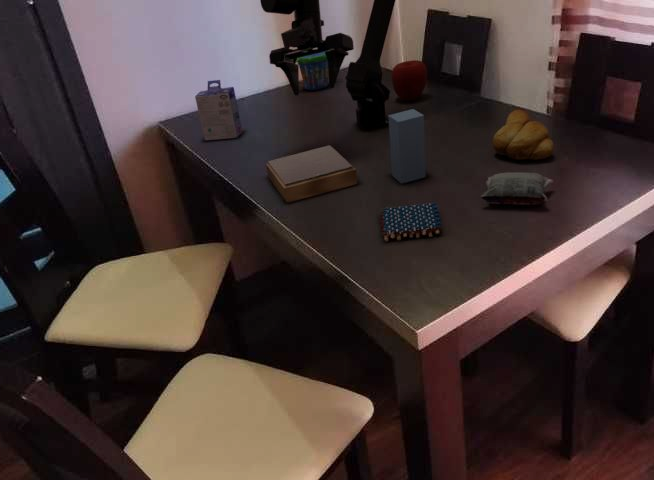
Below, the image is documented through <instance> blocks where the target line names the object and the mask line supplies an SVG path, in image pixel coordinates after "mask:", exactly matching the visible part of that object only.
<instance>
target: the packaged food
mask: <svg viewBox="0 0 654 480" xmlns="http://www.w3.org/2000/svg"><path fill="white" fill-rule="evenodd" d="M553 183H554V180H553V179H550V178H549V177H546V176H543V175H542V174H540V173H536V172H526V171H525V172H524V171H523V172H522V171H520V172H517V171H515V172H514V171H513V172H512V171H507V172H500V173H497V174H496V173H495V174H493V175H492V176H490V177H489V176H487V180H486V182H485V184H486V186H487V187H486V188H487V190H486V191H485V192H484V193H482V195H480V199H482V200H484V201H486V202H487V203H488V204H492V205H512V206H513V205H516V206H517V205H518V206H522V205H523V206H526V205H528V206H530V205H540V204H541V203H543V202H546V203H549V200H548V197H547V196H546V195H545V193H544V191H545V190H546V189H548V187H549V186H550V185H552V184H553Z"/></svg>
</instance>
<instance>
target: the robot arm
mask: <svg viewBox="0 0 654 480" xmlns="http://www.w3.org/2000/svg"><path fill="white" fill-rule="evenodd" d="M395 3H396V0H373V3H372V8H371V11H370V14H369V18H368V23H367V27H366V32H365V36H364V39H363V44H362V48H361V51H360V54H359V57H358V58H357V60H356V61H355V62H354V61H350V62H349V64H348V68H347V74H346V76H345V78H344V79H345V80H346V82H345V88H346V89H347V92H348V93H349V95H350V97H351V99H352V101H353V102H355V101H356V105H357V107H355V114H356V115H355V116H356V125H358V126H359V127H360V128H361V129H363V130H364V131H368V130H372V129H376V128H380V127H384V126H387V125H388V126H389V121H388V120H387V119H386V105H385V103H386V101H388V100H389V99H390V94H391V90H390V89H389V88H388V87H387V86H385V84H384V83H383V82H382V79H383V70H382V65H381V58H382V54H383V51H384V46H385V42H386V39H387V35H388V31H389V27H390V23H391V19H392V15H393V11H394V8H395ZM260 6H261V9H262V10H263V12H265V13H269V14H277V15H278V14H279V15H288V16H289V15H291V14H293V15H294V16H293V17H294V20H292V21H291V23H290V24H291V28H290V29H287V30H285V31H283V32H282V33H280V36H281V40H282V44H283V47H280V48H276V49H272V50H271V51H270V52H269V56H268V58H269V64H270V65H274V66H275V67H276V68H280V70H282V71H283V73H284V75H285V77H286V79H287V81H288V83H289V85H290V87H291V90H292V92H293V94H294V96H299V94H300V93H299V92H300V74H299V72H300V67H299V65H298V63H297V62H296V60H297V58H300V57H304V56H308V55H312V54H317V53H321V52H325V51H326V52H325V54H326V57H327V60H328V73H329V84H328V85H329V88H330V89H334V88H335V85H336V82H337V79H338V76H339V73H340V70H341V67H342V65H343V63H344V60H345V58H346V57H347V56H349V52H350V51H353V50H354V49H355V47H354V40H353V38H352V37H351V35H348V34H345V33H342V32H338V33H333V34H330V35H326V36H325V38H324V39H323V31H322V30H323V29H322V27H324V26H325V21H324V19H322V17H321V4H320V0H260ZM292 48H294V49H292ZM313 49H315V50H313ZM329 50H330V51H329ZM305 51H307V52H305ZM295 62H296V63H295Z"/></svg>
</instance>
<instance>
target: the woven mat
mask: <svg viewBox="0 0 654 480" xmlns="http://www.w3.org/2000/svg"><path fill="white" fill-rule="evenodd" d="M380 219H381V221H380V222H381V228H382V229H381V232H382V233H381V234H382V236H383V237H384V241H385V242H386V243H387V242H388V241H389V238H390V239H395V238H396V240H397V241H401V240H402V237H403V238H407V237H408V236H409V238H410V239H412V238H414V234H415V238H420V237H421V235H422V236H426V235H427V234H428V238H431V237H433V232H434V233H435V235H439V234H440V231H442V229H443V228H442V222H441V218H440V214H439V210H438V206H437V202H432V203H428V202H425V204H424V203H423V204H422V205H421V204H419V203H417V204H414V205H412V204H409V205H408V206H407V205H405V206H404V205H401V206H398V207H396V206H393V207H390V208H389V207H384V208H383V209H382V211H381V212H380ZM401 235H402V237H401Z"/></svg>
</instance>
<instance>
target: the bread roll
mask: <svg viewBox="0 0 654 480" xmlns="http://www.w3.org/2000/svg"><path fill="white" fill-rule="evenodd" d="M492 140H493V142H492V147H493V150H494V151H495V152H496V154H498V155H503V156H507V157H508V158H511V159H513V160H526V159H528V160H533V161H537V160H543V159H546V158H549V157H550V156H551V155H552V154H553V153H554V149H555V148H554V142H553V140H552V139H550V132H549V131H548V128H547V127H546V125H544V124H543V123H542V122H540V121H538V120H537V121H536V120H532V118H531V116H530V115H529V113H528V112H527V111H526V110H524V109H521V108H520V109H514V110H513V111H511V112H510V113H509V114H508V116H507V119H506V121H505V125H503V126H502V127H501V128H500V129H499V130H497V131H496V133H495V134H494V136H493V139H492Z"/></svg>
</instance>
